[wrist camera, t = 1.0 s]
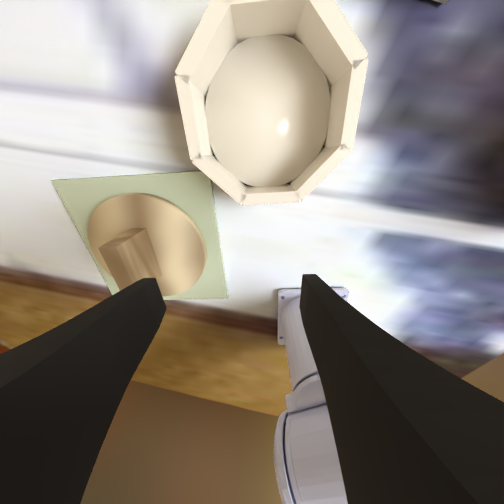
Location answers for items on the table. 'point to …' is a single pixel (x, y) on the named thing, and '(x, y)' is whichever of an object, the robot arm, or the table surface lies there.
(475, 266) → the table surface
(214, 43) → the bowl
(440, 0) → the flask
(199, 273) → the lid
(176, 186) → the mat
